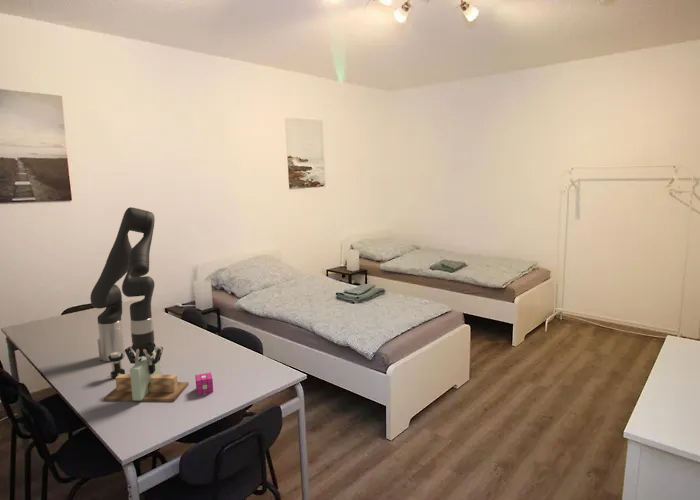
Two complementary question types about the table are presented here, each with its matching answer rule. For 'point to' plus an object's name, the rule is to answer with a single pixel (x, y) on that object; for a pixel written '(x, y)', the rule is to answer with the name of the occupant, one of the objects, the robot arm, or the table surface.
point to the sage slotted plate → (142, 378)
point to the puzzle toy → (204, 383)
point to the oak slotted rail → (158, 389)
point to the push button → (116, 364)
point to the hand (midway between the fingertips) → (146, 373)
